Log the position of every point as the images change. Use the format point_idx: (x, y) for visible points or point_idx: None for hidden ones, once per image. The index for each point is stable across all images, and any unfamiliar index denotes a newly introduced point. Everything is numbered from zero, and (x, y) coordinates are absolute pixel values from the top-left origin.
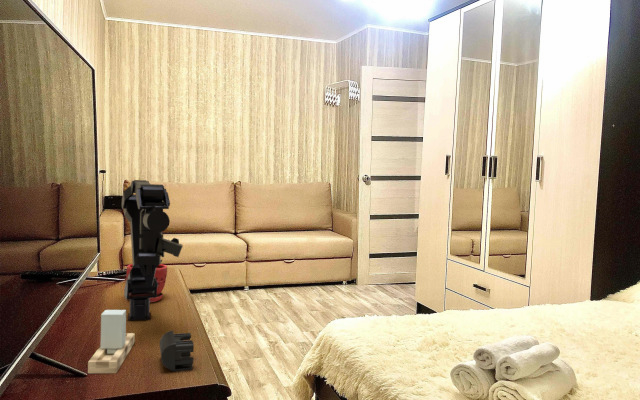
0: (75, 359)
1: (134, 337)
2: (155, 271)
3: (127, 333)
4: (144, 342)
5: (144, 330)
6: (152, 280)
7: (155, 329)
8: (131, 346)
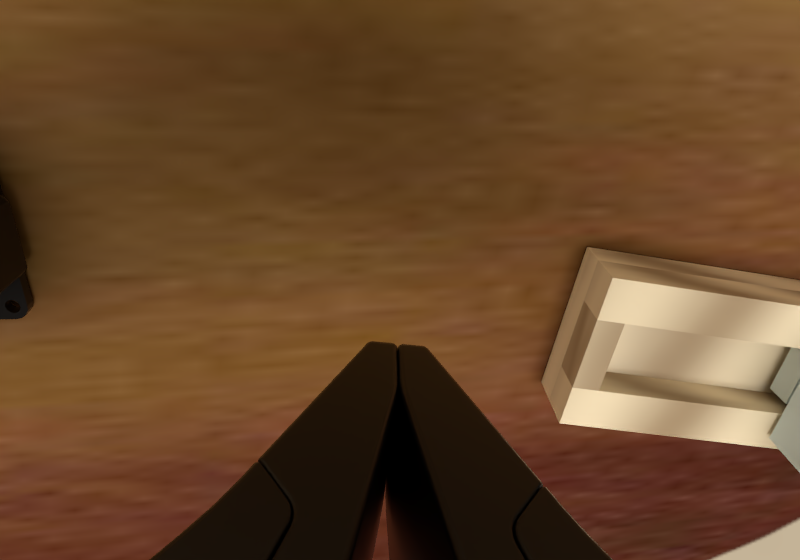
0: (742, 502)
1: (603, 264)
2: (237, 507)
3: (603, 324)
4: (594, 180)
5: (298, 182)
6: (476, 418)
7: (280, 93)
8: (685, 265)
